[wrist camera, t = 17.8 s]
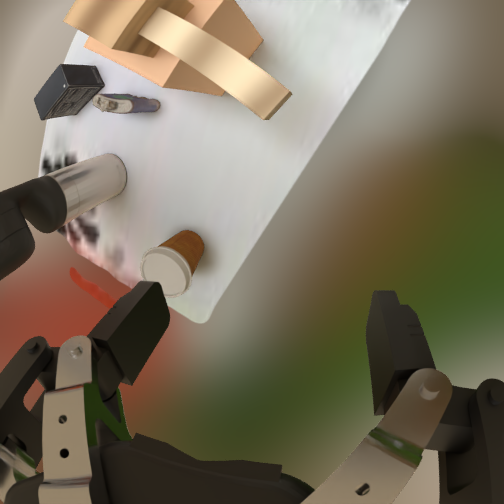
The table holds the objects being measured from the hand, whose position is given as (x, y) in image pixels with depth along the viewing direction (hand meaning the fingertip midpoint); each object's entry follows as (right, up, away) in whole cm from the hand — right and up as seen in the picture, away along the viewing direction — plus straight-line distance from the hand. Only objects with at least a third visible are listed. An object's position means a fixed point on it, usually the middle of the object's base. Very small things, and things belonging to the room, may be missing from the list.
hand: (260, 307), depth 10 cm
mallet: (-6, +22, +11) cm, 25 cm away
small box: (-35, +36, +33) cm, 60 cm away
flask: (-21, +29, +33) cm, 49 cm away
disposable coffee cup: (-13, +4, +45) cm, 47 cm away
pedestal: (-7, +36, +27) cm, 45 cm away
